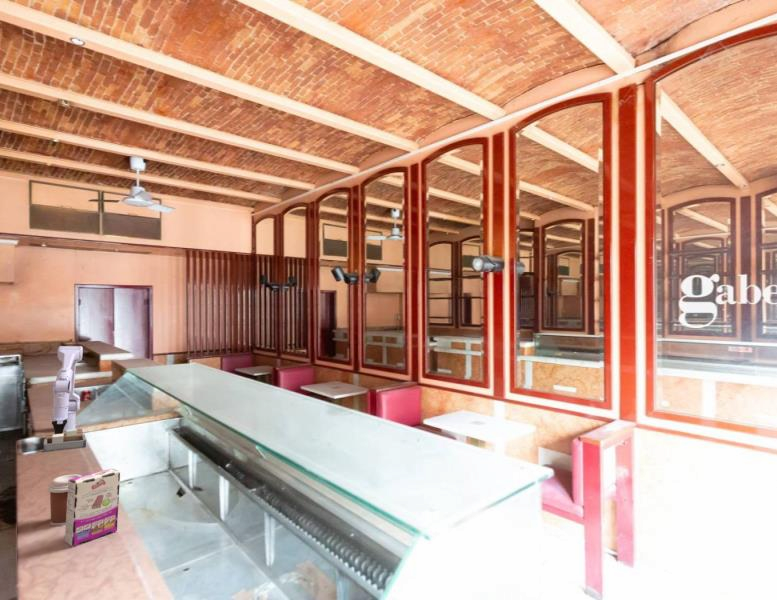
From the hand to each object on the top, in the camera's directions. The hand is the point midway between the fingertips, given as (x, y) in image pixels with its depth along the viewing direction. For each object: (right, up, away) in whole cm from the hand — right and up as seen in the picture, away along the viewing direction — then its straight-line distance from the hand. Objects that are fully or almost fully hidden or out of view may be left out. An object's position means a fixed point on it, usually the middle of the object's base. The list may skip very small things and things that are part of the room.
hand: (58, 437), depth 200 cm
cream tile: (0, 0, -1) cm, 1 cm away
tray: (+5, -3, -2) cm, 6 cm away
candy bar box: (+70, -2, -82) cm, 107 cm away
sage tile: (0, -1, +8) cm, 8 cm away
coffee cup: (+56, -2, -73) cm, 92 cm away
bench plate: (-3, -4, +8) cm, 10 cm away
